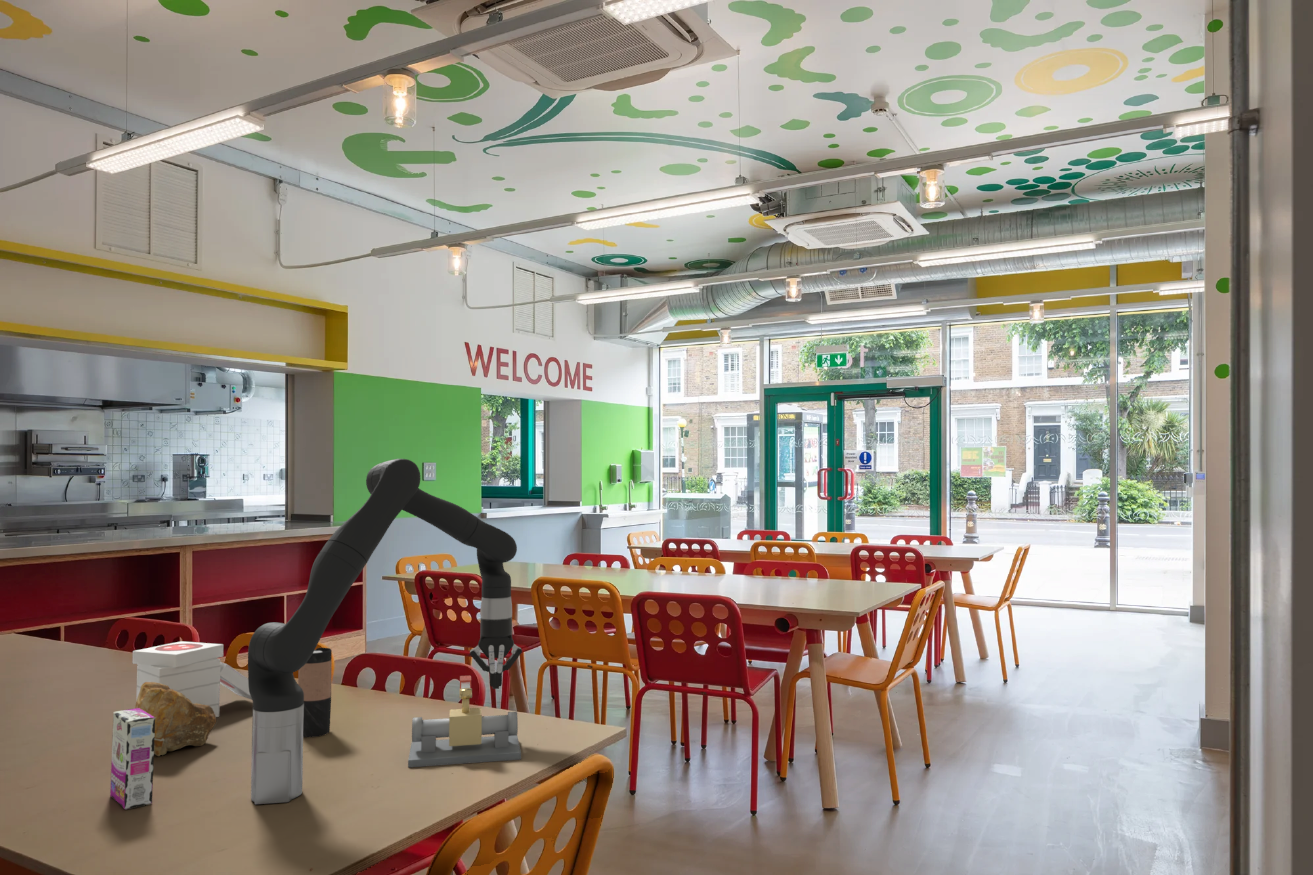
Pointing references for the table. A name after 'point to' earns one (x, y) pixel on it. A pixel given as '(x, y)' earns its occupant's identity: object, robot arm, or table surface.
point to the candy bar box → (132, 758)
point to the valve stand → (464, 738)
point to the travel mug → (316, 692)
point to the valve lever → (465, 687)
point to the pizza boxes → (190, 671)
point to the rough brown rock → (175, 717)
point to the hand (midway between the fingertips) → (495, 688)
